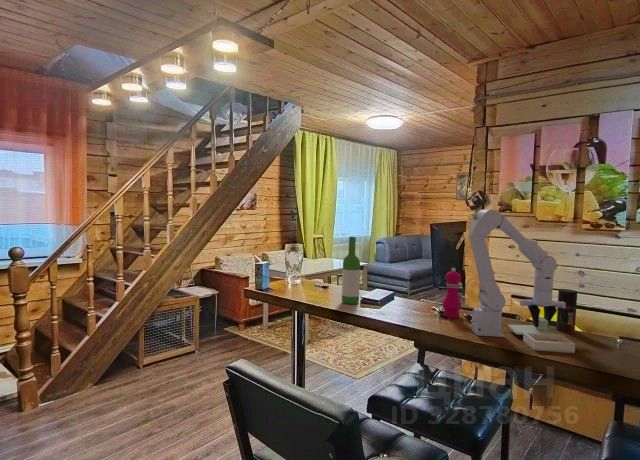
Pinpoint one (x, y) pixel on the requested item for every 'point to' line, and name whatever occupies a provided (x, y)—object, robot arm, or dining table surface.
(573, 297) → the deodorant
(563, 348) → the tub
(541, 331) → the lid
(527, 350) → the dining table surface
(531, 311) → the robot arm
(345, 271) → the wine bottle
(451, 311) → the pepper mill
